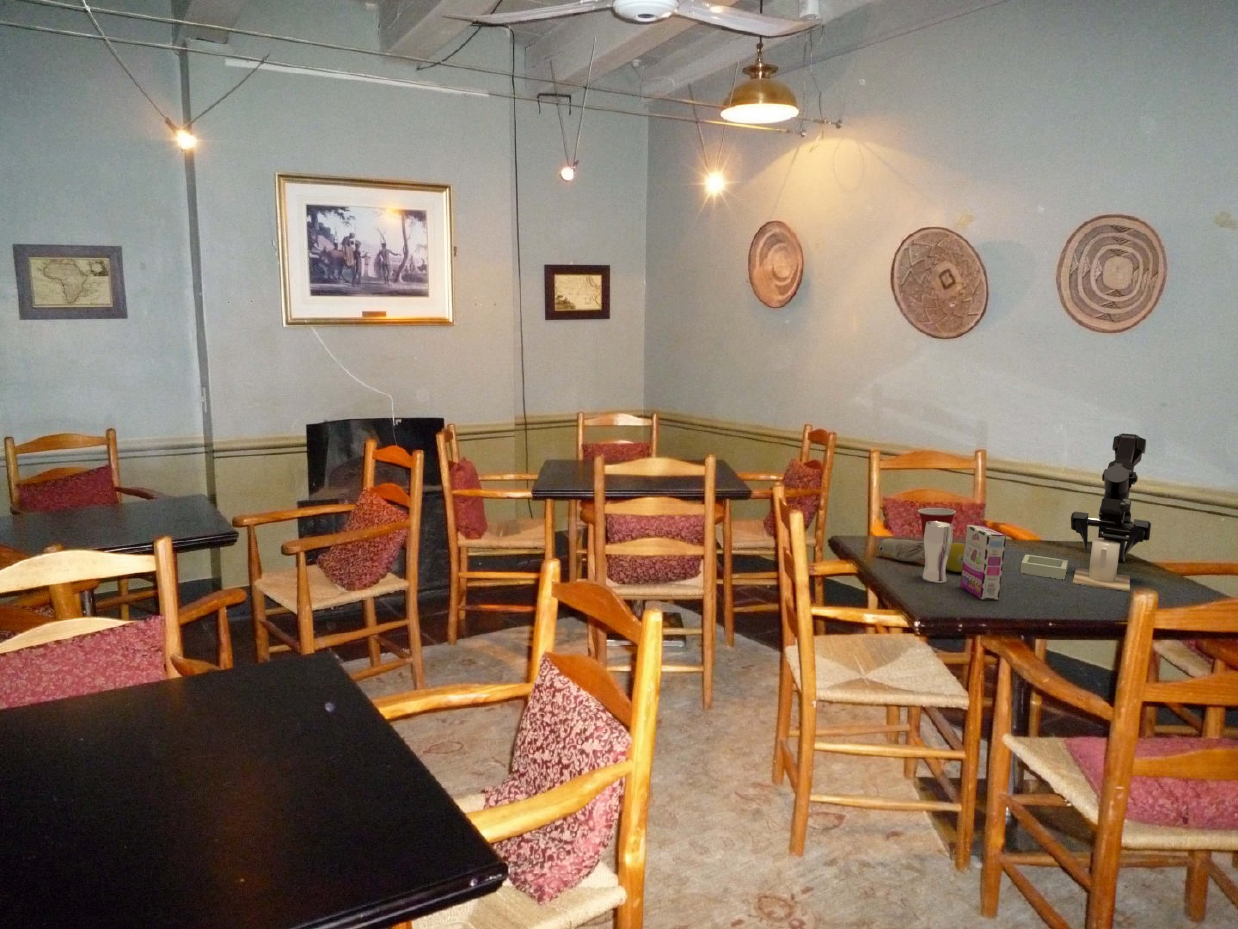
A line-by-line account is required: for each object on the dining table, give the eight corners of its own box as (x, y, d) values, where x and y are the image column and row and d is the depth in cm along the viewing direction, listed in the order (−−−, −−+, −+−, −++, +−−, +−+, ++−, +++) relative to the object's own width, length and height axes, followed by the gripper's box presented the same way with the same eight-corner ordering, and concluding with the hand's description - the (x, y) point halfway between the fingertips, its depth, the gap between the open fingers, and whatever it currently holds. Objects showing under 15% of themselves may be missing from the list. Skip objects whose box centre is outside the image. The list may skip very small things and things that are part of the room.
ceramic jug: (1089, 573, 236) (1094, 538, 234) (1116, 578, 232) (1121, 542, 231) (1086, 580, 229) (1090, 543, 228) (1113, 585, 226) (1118, 547, 224)
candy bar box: (1000, 600, 211) (1007, 535, 208) (980, 600, 211) (987, 534, 208) (978, 586, 222) (984, 524, 219) (959, 586, 222) (965, 524, 219)
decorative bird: (881, 555, 251) (883, 530, 250) (936, 566, 242) (939, 540, 240) (873, 558, 247) (876, 533, 246) (929, 570, 237) (932, 543, 236)
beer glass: (944, 576, 230) (949, 521, 228) (951, 584, 224) (957, 527, 221) (917, 575, 231) (922, 520, 229) (923, 582, 224) (929, 526, 222)
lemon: (935, 572, 234) (938, 543, 233) (938, 565, 241) (941, 537, 240) (978, 578, 230) (981, 549, 229) (980, 571, 237) (983, 543, 236)
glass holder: (1024, 564, 246) (1025, 554, 245) (1066, 571, 240) (1068, 560, 240) (1020, 573, 237) (1021, 562, 236) (1064, 580, 231) (1065, 569, 231)
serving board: (1075, 570, 242) (1076, 568, 242) (1129, 578, 235) (1129, 576, 235) (1072, 583, 228) (1072, 581, 228) (1129, 592, 222) (1129, 590, 221)
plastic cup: (920, 542, 269) (924, 504, 267) (956, 548, 262) (960, 509, 261) (909, 548, 260) (913, 509, 258) (946, 555, 254) (950, 515, 252)
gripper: (1075, 482, 237) (1065, 528, 229) (1155, 491, 226) (1147, 540, 219) (1076, 506, 244) (1066, 551, 237) (1153, 516, 234) (1145, 563, 227)
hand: (1105, 551), depth 230 cm, fingers open, 9 cm apart
